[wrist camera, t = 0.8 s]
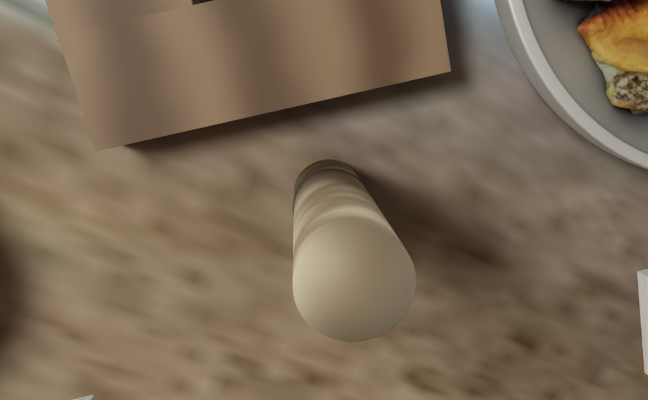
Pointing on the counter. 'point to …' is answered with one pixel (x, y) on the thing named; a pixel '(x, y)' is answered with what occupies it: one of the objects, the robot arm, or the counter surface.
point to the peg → (346, 257)
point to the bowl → (587, 66)
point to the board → (235, 57)
